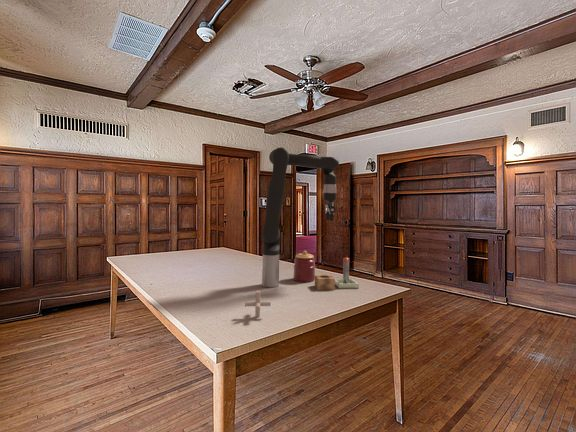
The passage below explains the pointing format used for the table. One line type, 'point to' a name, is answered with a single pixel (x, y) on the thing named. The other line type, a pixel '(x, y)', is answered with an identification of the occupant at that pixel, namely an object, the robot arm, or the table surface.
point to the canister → (304, 267)
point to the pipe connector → (257, 304)
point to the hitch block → (324, 282)
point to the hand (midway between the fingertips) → (329, 220)
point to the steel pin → (346, 271)
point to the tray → (346, 286)
